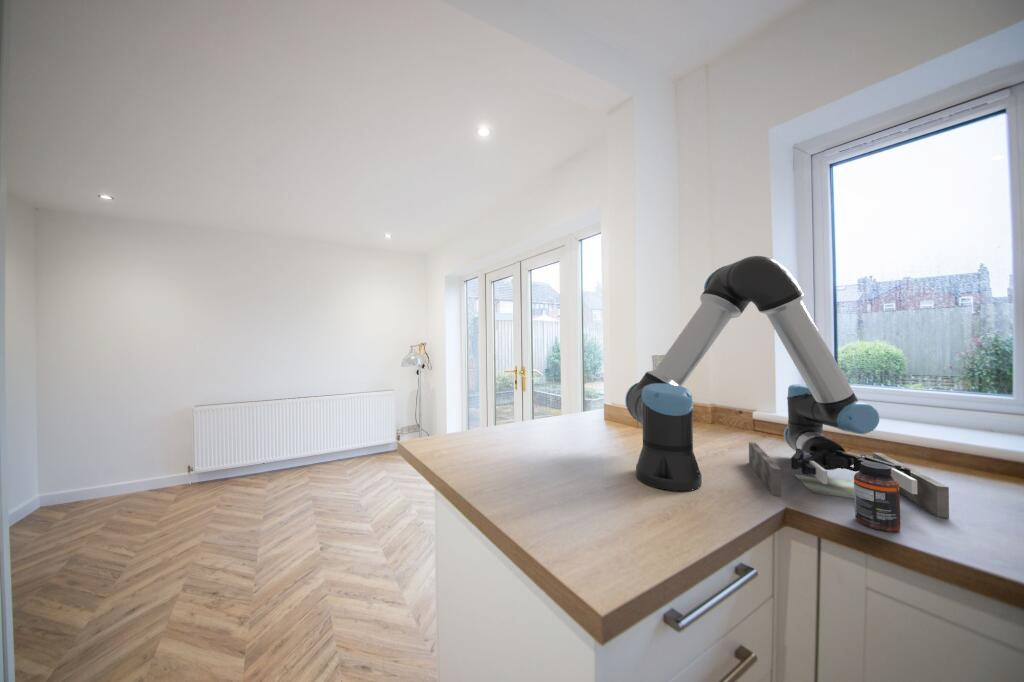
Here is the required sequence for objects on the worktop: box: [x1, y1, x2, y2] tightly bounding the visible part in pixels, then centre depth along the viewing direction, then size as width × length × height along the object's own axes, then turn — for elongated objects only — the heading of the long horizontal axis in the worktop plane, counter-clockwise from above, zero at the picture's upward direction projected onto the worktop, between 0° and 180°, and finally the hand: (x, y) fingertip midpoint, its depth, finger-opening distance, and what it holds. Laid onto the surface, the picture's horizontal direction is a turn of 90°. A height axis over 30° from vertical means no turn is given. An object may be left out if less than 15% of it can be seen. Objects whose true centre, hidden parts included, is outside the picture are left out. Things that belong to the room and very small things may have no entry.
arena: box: [748, 441, 950, 519], centre depth 83 cm, size 22×28×6 cm
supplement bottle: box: [853, 461, 902, 532], centre depth 65 cm, size 6×6×11 cm
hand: (868, 482), depth 69 cm, fingers open, 13 cm apart
